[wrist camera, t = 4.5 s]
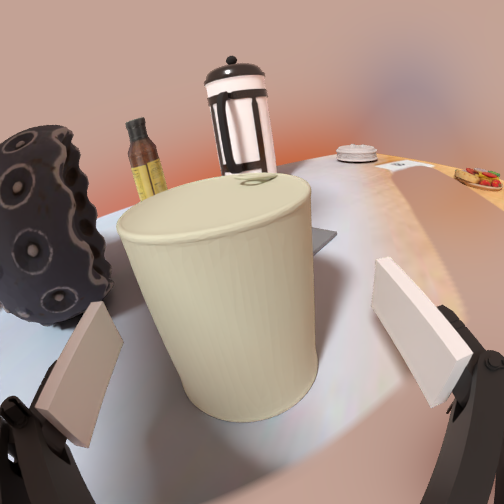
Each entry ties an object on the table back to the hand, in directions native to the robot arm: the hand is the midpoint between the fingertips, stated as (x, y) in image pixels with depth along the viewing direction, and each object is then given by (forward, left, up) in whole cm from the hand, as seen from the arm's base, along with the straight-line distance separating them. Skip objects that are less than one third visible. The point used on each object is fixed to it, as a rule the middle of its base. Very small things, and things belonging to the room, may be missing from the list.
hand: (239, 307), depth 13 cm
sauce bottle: (-45, +20, -7) cm, 50 cm away
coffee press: (-33, +37, -7) cm, 50 cm away
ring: (-23, -5, -7) cm, 25 cm away
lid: (-23, +74, -7) cm, 78 cm away
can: (-2, +1, -7) cm, 8 cm away
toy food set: (+14, +64, -7) cm, 66 cm away
